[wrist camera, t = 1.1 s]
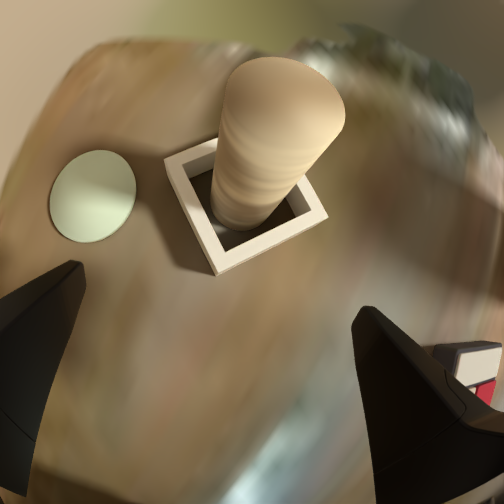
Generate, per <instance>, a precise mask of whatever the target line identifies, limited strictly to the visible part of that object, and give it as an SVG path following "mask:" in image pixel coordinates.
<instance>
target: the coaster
mask: <svg viewBox="0 0 504 504" xmlns="http://www.w3.org/2000/svg"><path fill="white" fill-rule="evenodd" d="M135 199H136V180H135V177H134V174H133V172H132V170H131V168H130V166H129V164H128V163H127V162H126V161H125V159H124V158H122V157H121V156H120V155H118V154H116V153H114V152H111V151H106V150H95V151H90V152H87V153H84V154H82V155H80V156H78V157H76V158H75V159H73V160H72V161H71V162H70V163H69V164H67V165H66V166H65V168H64V169H63V170H62V171H61V173H60V174H59V175H58V177H57V179H56V181H55V183H54V185H53V188H52V192H51V196H50V212H51V217H52V220H53V222H54V224H55V226H56V227H57V229H58V230H59V231H60V232H61V233H62V234H63V235H64V236H66V237H67V238H69V239H71V240H73V241H76V242H79V243H94V242H98V241H101V240H103V239H106V238H108V237H109V236H111V235H112V234H114V233H115V232H116V231H117V230H118V229H119V228H120V227H121V226H122V225H123V224H124V223H125V221H126V220H127V218H128V217H129V215H130V213H131V211H132V209H133V206H134V203H135Z"/></svg>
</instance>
